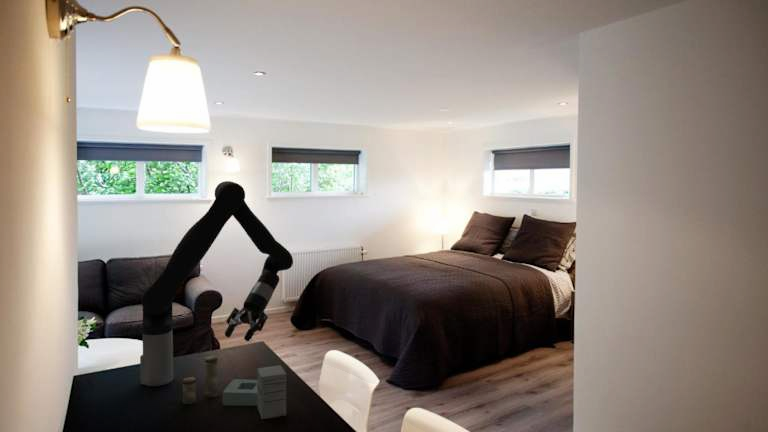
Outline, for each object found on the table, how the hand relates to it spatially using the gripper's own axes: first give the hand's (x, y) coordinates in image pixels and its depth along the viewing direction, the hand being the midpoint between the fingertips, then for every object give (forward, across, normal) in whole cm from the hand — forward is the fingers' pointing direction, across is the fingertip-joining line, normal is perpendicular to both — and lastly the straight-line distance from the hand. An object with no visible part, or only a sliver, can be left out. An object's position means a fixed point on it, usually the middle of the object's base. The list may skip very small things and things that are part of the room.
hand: (236, 338), depth 163 cm
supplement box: (+19, +25, +3) cm, 31 cm away
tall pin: (+19, 0, +3) cm, 19 cm away
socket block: (+16, +12, +5) cm, 21 cm away
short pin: (+23, -2, -2) cm, 24 cm away
